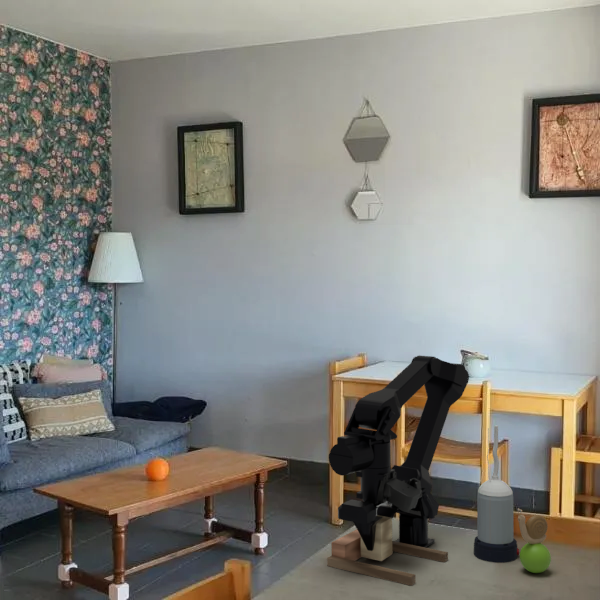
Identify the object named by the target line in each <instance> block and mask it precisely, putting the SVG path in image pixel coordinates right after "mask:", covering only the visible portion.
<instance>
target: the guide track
mask: <svg viewBox="0 0 600 600" xmlns="http://www.w3.org/2000/svg"><path fill="white" fill-rule="evenodd" d="M395 541H396V540H392V553H393V552H394V553H398V554H403V555H407V556H412V557H417V558H422V559H427V560H431V561H436V562H441V563H446V562H447V561H449V552H448V551H444V550H439V549H434V548H428V547H426V548H425V547H420V546H415V545H410V544H405V543H400V542H395ZM330 544H331V555H330V556H328V557H327V559H326V560H327V561H326V562H327V563H326V564H327V565H326V566H327V567H330V568H334V569H340V570H344V571H347V572H352V573H356V574H360V575H364V576H369V577H372V578H373V577H374V578H377V579H382V580H385V581H390V582H394V583H399V584H403V585H407V586H414V585H415V584H416V583H417V582H416V574H414V573H410V572H406V571H402V570H396V569H393V568H388V567H383V566H379V565H375V564H371V563H370V564H369V563H366V562H361V561H358V560H359V559H360V558H362V557H361V536H360V534H359V532H358V530H357V528H356V529H355V530H352V531H351V532H349V533H346V534H345V535H343V536H340V537H339V538H337V539H335V540H333V541H331V543H330Z"/></svg>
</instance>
